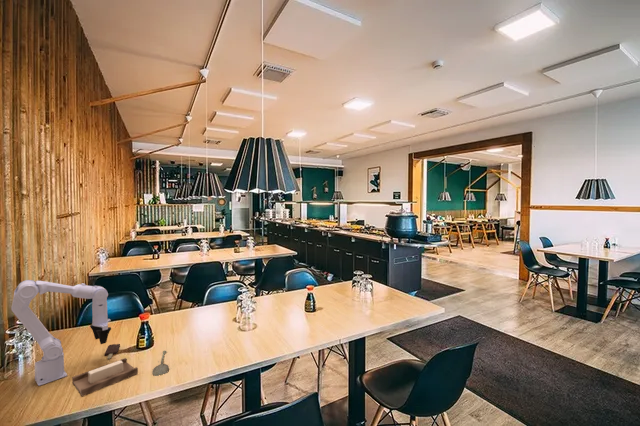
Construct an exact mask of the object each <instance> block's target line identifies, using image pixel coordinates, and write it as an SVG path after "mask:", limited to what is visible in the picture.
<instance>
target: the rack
mask: <svg viewBox="0 0 640 426" xmlns="http://www.w3.org/2000/svg"><path fill="white" fill-rule="evenodd" d="M120 360H121V361H122V362H123V371H122V372H120V373H117V374H115V375H112V376H109V377H107V378H104V379H102V380H99V381H96V382H94V383H91V384H90V382H89V381H88V372H89V371H92V370H94V369H97V368H100V367H103V366H106V365H108V364H111V363H114V362H117V361H120ZM120 360H116V361H113V362H110V363H108V364H105V365H102V366H99V367H97V368H94V369H91V370H87V371H85V372H83V373H80V374H77V375H75V376H72V379H71V380H72V381H71V382H72V385H73V386H74V388H75V389H76V390H77V391H78V393H79V394H80V396H81V397H84V396H88V395H89V394H92V393H94V392H97V391H99V390H101V389H104V388H106V387H109V386H111V385H114V384H117V383H119V382H122V381H123V380H126V379H128V378H131V377H134V376H136V375H138V374H139V368H138V366H136V367H133V366H132V365H131V364H130V363H129V362H128V358H126V357H125V358H122V359H120Z"/></svg>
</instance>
